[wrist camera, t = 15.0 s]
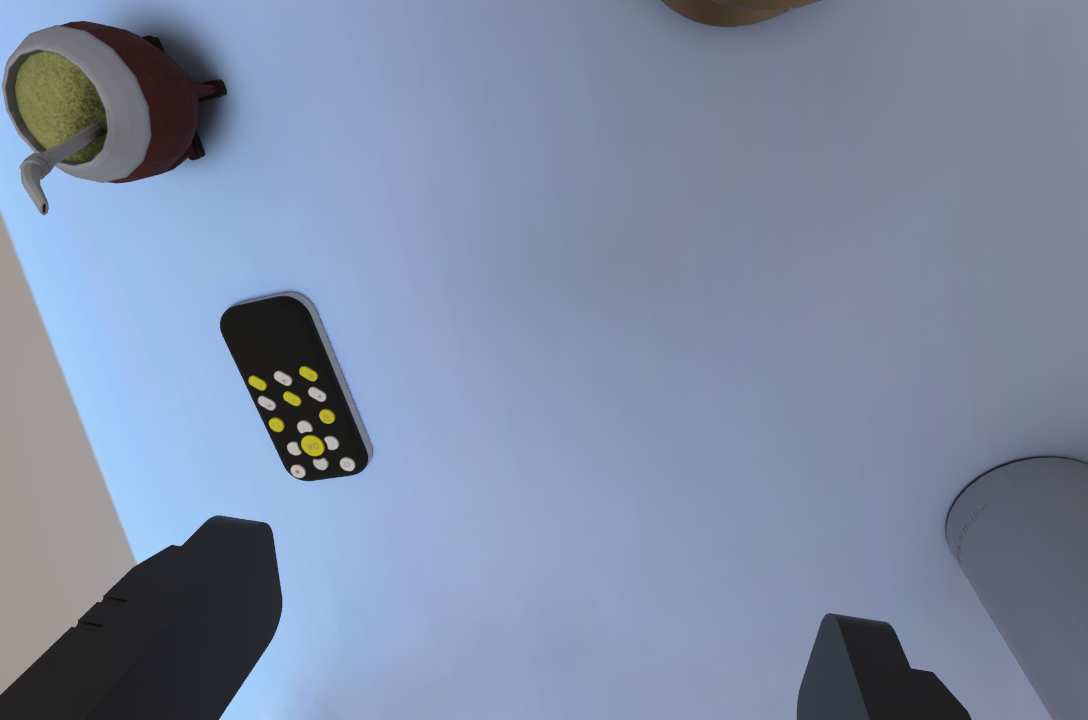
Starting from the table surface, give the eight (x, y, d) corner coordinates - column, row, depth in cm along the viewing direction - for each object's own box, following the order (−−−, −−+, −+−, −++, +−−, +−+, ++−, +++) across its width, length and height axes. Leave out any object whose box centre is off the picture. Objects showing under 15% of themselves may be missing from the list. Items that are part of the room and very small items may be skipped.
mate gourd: (94, 45, 35) (-255, 37, 22) (219, 8, 33) (-76, -27, 20) (155, 184, 38) (-120, 253, 24) (273, 156, 36) (47, 214, 23)
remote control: (311, 284, 40) (294, 295, 38) (382, 460, 44) (370, 477, 42) (225, 303, 41) (205, 314, 39) (302, 471, 46) (288, 488, 44)
